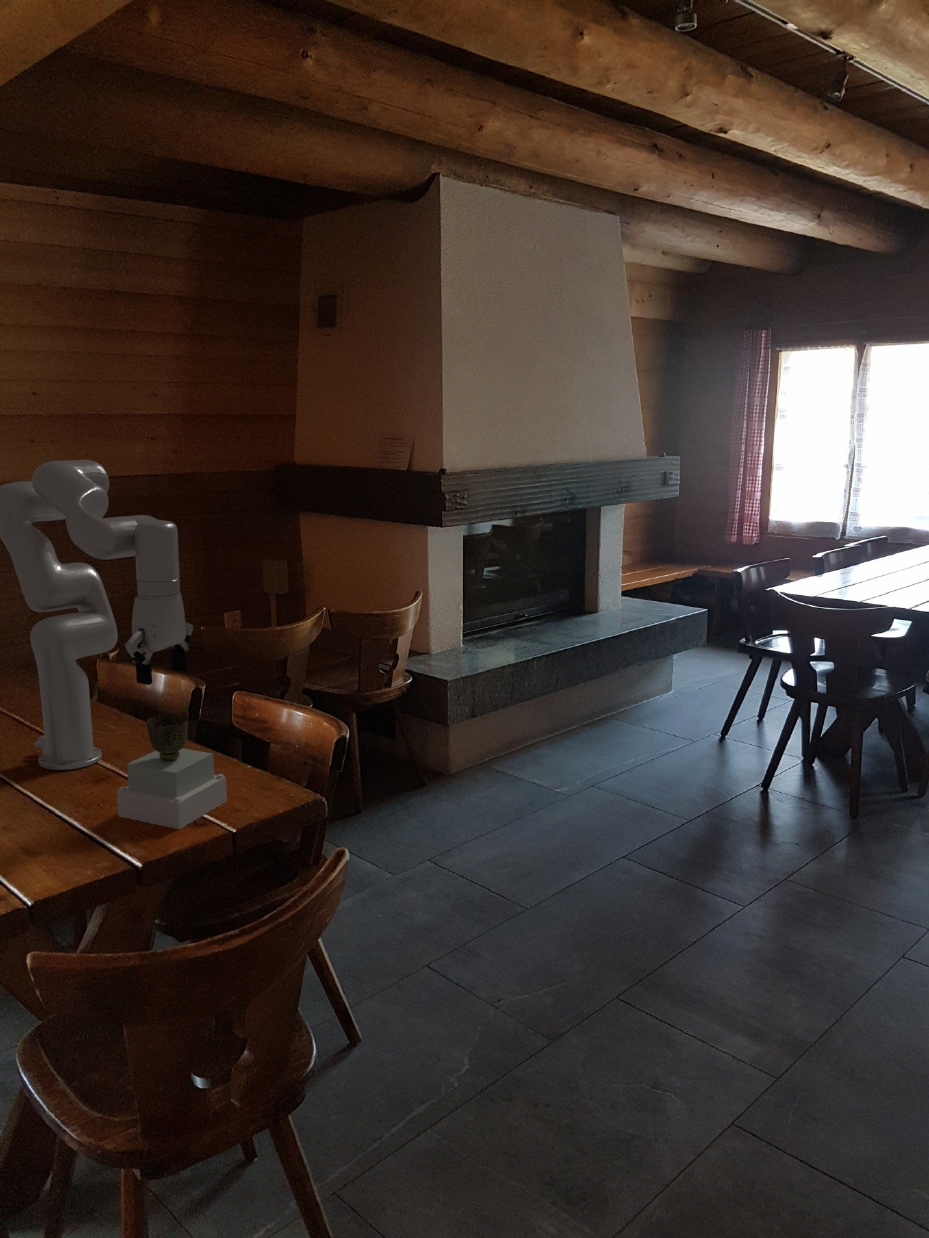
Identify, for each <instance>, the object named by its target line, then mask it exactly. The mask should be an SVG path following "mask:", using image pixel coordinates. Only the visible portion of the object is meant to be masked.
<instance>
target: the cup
mask: <svg viewBox="0 0 929 1238" xmlns="http://www.w3.org/2000/svg"><path fill="white" fill-rule="evenodd" d="M145 722H146V726H147V732H148V738H149V741H150V744H151V747H152V749H154V751H157V752H159V753H160V754H159V757H160V759H161V760H163V761H174V760H176V759H178V758H179V756H180V753H179V751H180V750H181V749H182V748H183V749H184V747H185V745H186V743H187V738H188V728H189V726H188V725H189V716H188V715H187V714H184V713H181V714H180V716H176V714H175V712H173V713H170V712H168V711H167V712H165V713H164V714H163V715H161V713H158V715H157V717H156V716H155V715H152V716H151V717H150V716H149V717H148V718H147V719H146V721H145Z"/></svg>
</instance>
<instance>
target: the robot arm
mask: <svg viewBox="0 0 929 1238" xmlns="http://www.w3.org/2000/svg"><path fill="white" fill-rule="evenodd" d="M109 488H110V478H109V476H108V472H107V471H106V469H105V468H104V467H103V465H101V464H100V463H99V462H97V461H94V460H92V459H91V460H90V459H74V460H73V459H72V460H71V459H70V460H67V459H66V460H52V461H47V462H45V463H42V464H40V465H39V466H38V467H37V468H36V469H35V470H34V471H33V473H32V476H31V480H25V481H24V480H23V481H15V482H10V483H6V484H2V485H0V539H1V541H2V542H3V544H4V545H5V548H6V549H7V551H8V553H9V555H10V559H11V561H12V564H13V567H14V571H15V573H16V576H17V579H18V582H19V585H20V588H21V592H22V594H23V596H24V597H23V598H24V600H25V602H26V604H27V606H28V607H29V608H30V610H32V611H33V612H37V613H47V612H54V611H62V610H67V609H75V608H77V610H78V611H77V612H72V613H66V614H64V613H63V614H59V615H54V616H50V617H46V618H43V619H41V620H39V621H37V623H36V624H34V625H33V627H32V629H31V631H30V636H29V640H30V645H31V648H32V652H33V655H34V659H35V663H36V667H37V673H38V674H37V675H38V680H39V692H40V700H41V701H40V702H41V712H42V725H43V735H40V736H38V739H37V741H35V742H34V744H33V745H34V746H33V747H34V748H36V749H41V751H42V754H41V755H40V756H39V757H38V759H37V760H38V761H37V762H38V765H39V766H40V767H41V768H43V769H46V770H51V771H52V770H53V771H68V770H75V769H76V770H77V769H80V768H84V767H85V768H86V767H88V766H90V765H91V766H92V765H94V764H95V763H97V762H99V761H100V760H101V758H102V755H103V754H102V750H101V749H100V748H98V747H95V746H94V738H93V725H92V712H91V702H90V701H91V700H90V686H89V678H88V676H87V674H86V672H85V671H84V670H83V669H82V668H81V667H80V665H79V664H78V663H77V660H78V659H81V658H85V657H89V656H94V655H99V654H103V653H107V652H109V651H111V650H112V649H113V648H114V647H116V645H117V642H118V635H119V634H118V629H117V623H116V620H115V617H114V613H113V611H112V608H111V605H110V601H109V598H108V596H107V592H106V590H105V587H104V584H103V581H102V578H101V576H100V575H99V573H98V572H97V570H96V569H95V568H94V567H93V566H92V565H90V564H88V563H87V562H86V563H85V562H70V563H62V562H60V561H59V559H58V556H57V554H56V551H55V548H54V547H55V546H54V545H53V544H52V541H51V540H50V539H49V538H48V537H47V536H46V535H45V534H44V533H43V532H42V531H41V530H39V529H38V528H36V527H35V526H34V525H33V523H36V522H37V523H39V522H50V521H51V522H52V521H61V520H65V525H66V529H67V533H68V535H69V537H70V540H71V541H72V542H73V544H74V545H75V546H76V547H78V548H79V549H81V550H82V551H83V552H84V553H85V554H87V555H89V557H90V556H91V557H92V558H95V559H98V560H115V559H121V558H122V559H123V558H128V557H129V558H130V557H135V570H136V571H135V573H136V589H137V596H136V597H134V601H133V607H132V616H131V618H132V619H131V637H130V638H129V639H128V640H127V641H126V642H125V645H124V647H125V648H126V651H127V653H128V656H129V658H130V659H131V660H132V662H133V663H134V664H135V677H136V679H135V680H136V683H137V684H140V685H147V686H150V685H152V684H153V672H152V671H153V669H152V668H153V667H152V663H150V660H151V658H152V656H153V654H154V653H155V652H159V651H163V650H165V649H169V648H171V647H172V648H173V649H171V669H172V670H173V671H174V672H175V671H176V672H182V673H186V672H187V671H188V662H187V661H188V657H187V655H188V654H187V651H189V649H190V646H189V644H190V643H191V640H192V633H193V631H194V630H193V629H194V625H193V624H191V623H189V622H186V617H185V614H186V613H185V609H184V607H185V606H184V602H183V597H182V594H181V586H180V585H181V584H180V583H181V579H180V563H179V562H180V561H179V559H180V558H179V557H180V556H179V539H178V537H179V535H178V534H179V533H178V527H177V525H176V524H175V523H174V522H172V521H171V520H170V521H169V520H162V519H161V520H160V519H158V518H155V517H153V516H152V515H151V516H150V515H147V514H146V515H145V514H138V515H137V514H136V515H129V516H127V515H125V516H115V517H114V516H113V517H105V515H106V513H107V511H108V509H109V501H110V500H109V496H108V492H109ZM104 517H105V518H104ZM144 652H145V654H144ZM143 654H144V655H143Z"/></svg>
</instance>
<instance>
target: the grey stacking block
mask: <svg viewBox="0 0 929 1238" xmlns="http://www.w3.org/2000/svg"><path fill="white" fill-rule="evenodd" d="M179 753H180V756H179V758H178V759H176V760H174V761H163V760H161V759H160V757H159V754H160V753H159V752H157V751H156V750H154V751H152V752H150V753H147V754H146V755H143V756H142V757H139V758H137V759H135V760H132V761H131V762H129V763H127V764H126V769H127V783H128V785H127V786H120V787H119V788H118V790H116V802H117V803H116V804H117V815H118V817H120V818H123V819H128V818H129V819H128V820H132V821H137V820H139V821H138V822H141V823H142V822H143V823H147V822H148V824H152V825H156V824H157V825H158V826H162V827H167V828H172V829H175V830H176V829H177V830H181V829H183V828H184V827H186V826H188V825H190V824H191V823H193V822H194V820H195V821H197V820H198V819H200V818H201V817H204V816H205V815H206V813H207V814H208V813H210V812H212V811H213V810H215V809H217V808H218V807H220V806H222V805H224V804H225V803H226V802H228V795H227V777H226V776H224V774H222V773H218V774H217V775H216V774H215V763H214V762H215V761H214V759H215V758H214V753H212V752H207V751H206V752H205V751H201V750H195V749H189V748H184V747H183V748H182V749H181V750H180V751H179ZM216 807H217V808H216ZM211 810H212V811H211ZM209 811H210V812H209ZM204 814H205V815H204ZM189 823H190V824H189ZM187 824H188V825H187Z"/></svg>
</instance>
